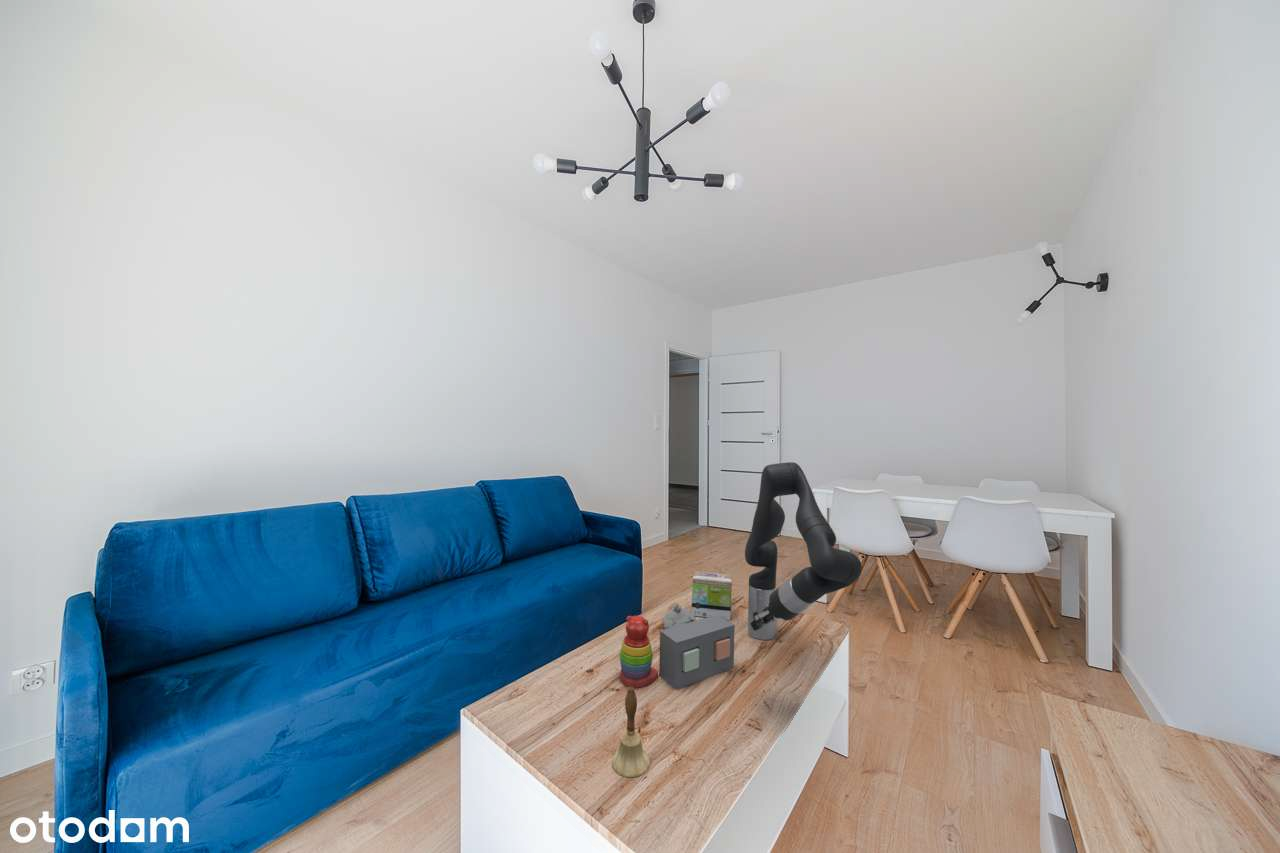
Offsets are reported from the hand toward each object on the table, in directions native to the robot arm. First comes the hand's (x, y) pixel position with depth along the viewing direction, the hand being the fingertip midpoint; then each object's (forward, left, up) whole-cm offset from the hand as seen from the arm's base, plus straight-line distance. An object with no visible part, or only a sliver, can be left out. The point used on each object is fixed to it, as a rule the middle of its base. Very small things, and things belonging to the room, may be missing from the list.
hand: (754, 626), depth 118 cm
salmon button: (0, -14, -14) cm, 20 cm away
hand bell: (+41, +3, -19) cm, 45 cm away
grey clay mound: (-6, -41, -19) cm, 46 cm away
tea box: (-25, -46, -19) cm, 56 cm away
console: (+6, -17, -19) cm, 26 cm away
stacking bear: (+23, -23, -19) cm, 38 cm away
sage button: (+12, -14, -14) cm, 23 cm away
